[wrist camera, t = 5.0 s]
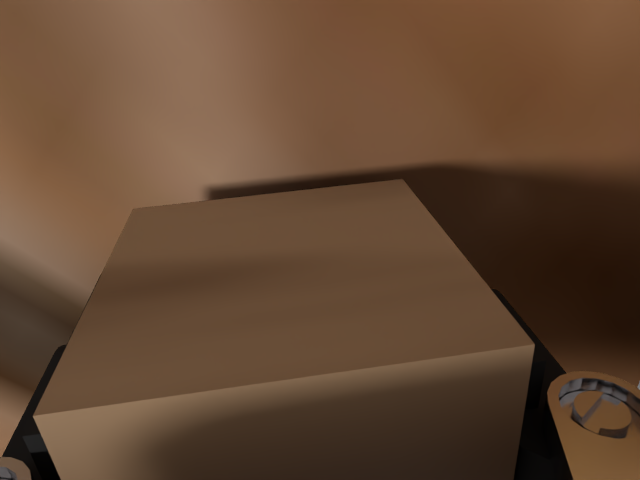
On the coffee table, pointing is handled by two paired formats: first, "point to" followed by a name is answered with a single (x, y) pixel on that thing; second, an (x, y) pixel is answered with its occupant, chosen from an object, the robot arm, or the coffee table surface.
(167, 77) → the coffee table surface
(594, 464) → the robot arm
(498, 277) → the coffee table surface
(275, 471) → the walnut cube
